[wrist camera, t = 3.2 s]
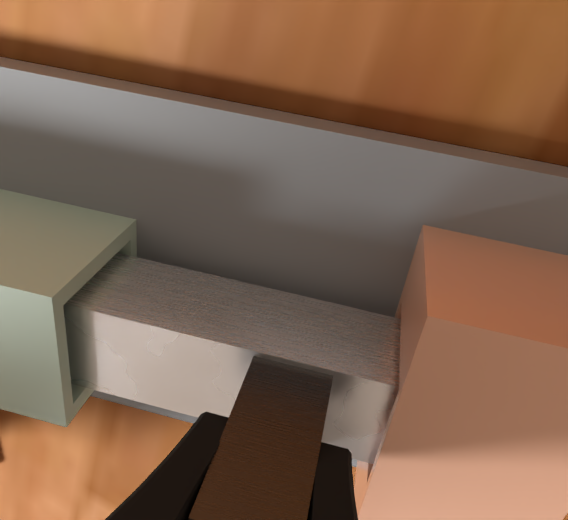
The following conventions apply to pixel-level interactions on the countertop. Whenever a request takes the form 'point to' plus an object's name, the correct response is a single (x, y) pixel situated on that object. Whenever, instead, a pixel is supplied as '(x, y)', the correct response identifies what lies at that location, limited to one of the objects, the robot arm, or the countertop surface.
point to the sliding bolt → (239, 374)
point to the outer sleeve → (47, 296)
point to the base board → (263, 186)
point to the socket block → (476, 387)
